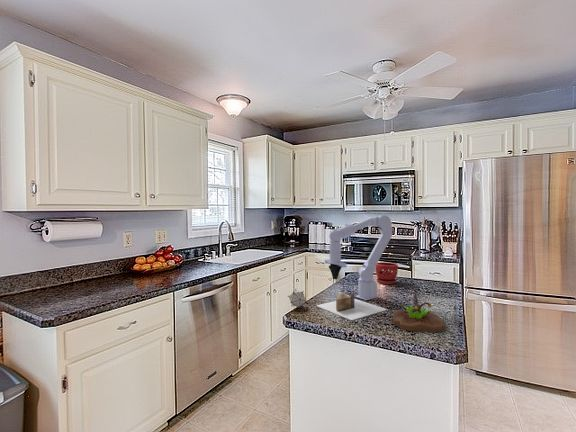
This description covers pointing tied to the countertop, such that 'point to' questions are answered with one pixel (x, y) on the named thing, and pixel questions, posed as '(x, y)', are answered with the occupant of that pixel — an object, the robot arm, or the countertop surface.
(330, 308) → the card
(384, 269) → the plant pot
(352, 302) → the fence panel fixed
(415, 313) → the plant
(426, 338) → the countertop surface
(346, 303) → the brown wooden board
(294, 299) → the game die
